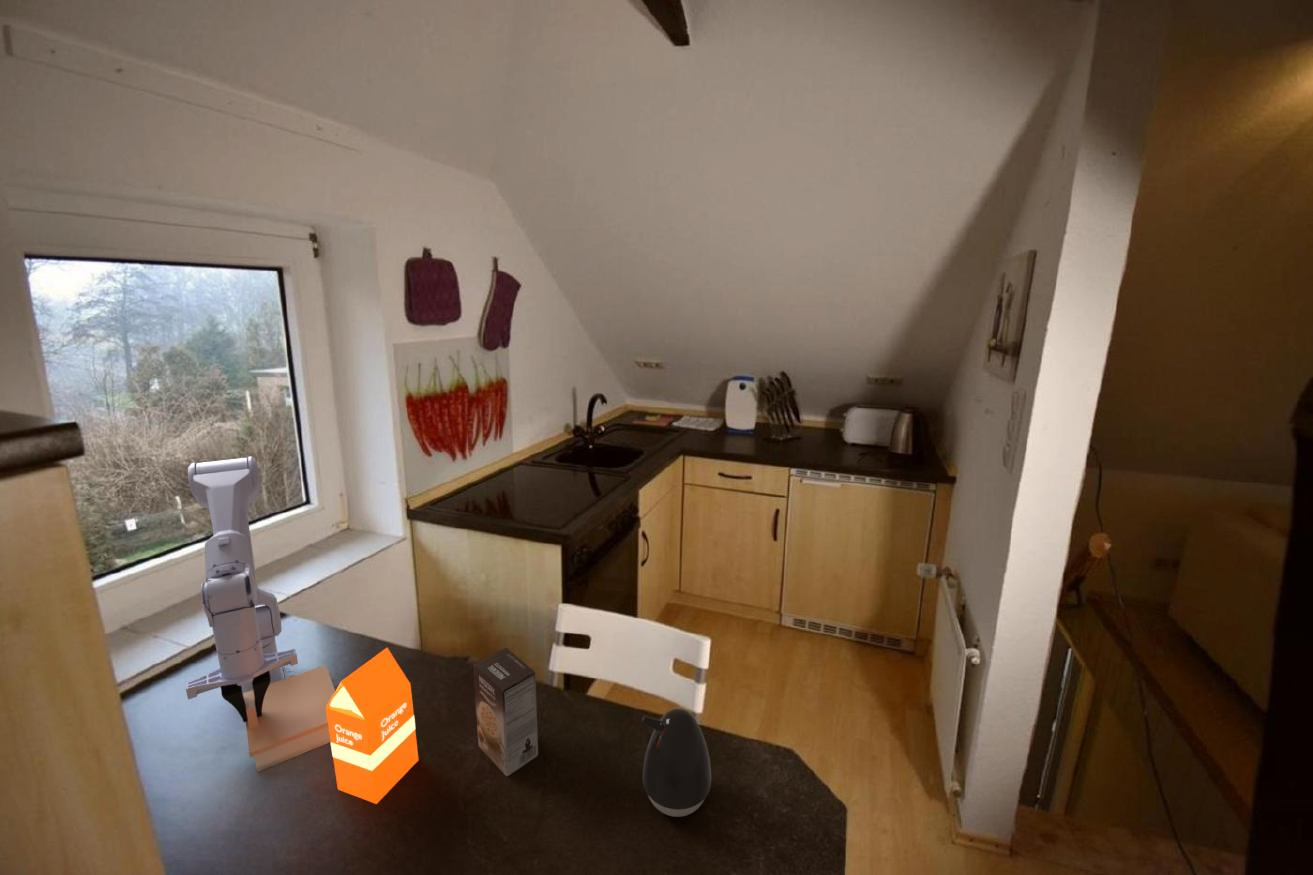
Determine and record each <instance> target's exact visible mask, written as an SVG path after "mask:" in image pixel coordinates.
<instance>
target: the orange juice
mask: <svg viewBox="0 0 1313 875" xmlns="http://www.w3.org/2000/svg"><path fill="white" fill-rule="evenodd" d="M326 713H327V719H328V726H329V733H330V740H331V742H329V743H330V748H331V754H332V758H333V760H332V761H333V765H334V772H335V779H336V784H337V785H336V786H337V787H336V788H337V790H338V791H341V792H342V793H346V794H349V795H351V796H354V797H358V798H360V799H362V800H365V801H367V802H370V803H373V804H375V805H377V804H378V803H379V802H380V801H381V800H382V799H383V798H384V797H385V796H386V795H387V794H388V793H389V792H390V790H392V789H393V787H394V786H396V784H397V783H398V782H399V781H400V780H401V779H402V778H403V777H404V776H405V775H406V774H407V773H408V772H409V770H411V768H413V767H414V765H416V763H418V762H419V753H418V744H417V743H418V741H417V735H416V734H417V733H416V719H415V714H414V704H413V695H412V686H411V682H410V681H409V679H408V678H407V677H406V674H405V673H404V671H403V669H401V667H400V665H399V663H397V660H396V659H395V658H394V656H393V654H392V653H391V651H390V650H389V647H388V646H387V647H386V648H384V649H383V650H382V651H380V652H378V653H377V654H376V655H375V656H374V657H372V658H371V659H370V660H368V661H367V662H366V663H364V664H362V665H361V666H360V667H358V668H357V669H356V670H354V671H353V672H351V673H350V674H349V675H348V676H346V677H345V678H344V679H342V680H341V681H340V683H339V684H338V686H337V688H336V690H335V693H334V695H333V696H332V698H331V700H330V702H329V703H328V705H327V707H326Z"/></svg>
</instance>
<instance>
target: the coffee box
mask: <svg viewBox="0 0 1313 875" xmlns="http://www.w3.org/2000/svg"><path fill="white" fill-rule="evenodd" d="M472 667H473V684H474V698H475V700H474V701H475V712H476V713H475V714H476V715H475V716H476V723H477V724H476V727H477V728H476V729H477V740H478V741H477V742H478V747H479V748H480V749H481V750H482V752H483V753H484V754H485V755H486V756H487V757H488V758H489V759H490V760H491V761H492V762H493V764H495V766H496V767H497V768H498V769H499V770H500V771H501V772H502V773H503V774H504V776H506V777H509V776H510V775H512V774H513V773H515V772H516V771H517V770H519V769H520V768H522V767H524V766H525V765H526V764H528V763H529V762H531V761H532V760H533V759H535V758H536V757H538V755H539V743H538V717H537V716H538V715H537V714H538V713H537V712H538V711H537V710H538V709H537V683H536V681H537V680H536V679H537V678H536V671H535V670H534V669H532V668H531V667H530V666H529V665H527V663H525V662H524V661H523V660H521V658H520V657H518V656H517V655H516V654H515V653H513V652H512V651H511V650H510V649H508V648H507V647H504V648H502V649H501V650H499V651H497V652H495V653H492V654H490V655H488V656H486V657H484V658H483V659H481V660H480V661H477V662H476V663H473V664H472Z"/></svg>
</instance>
